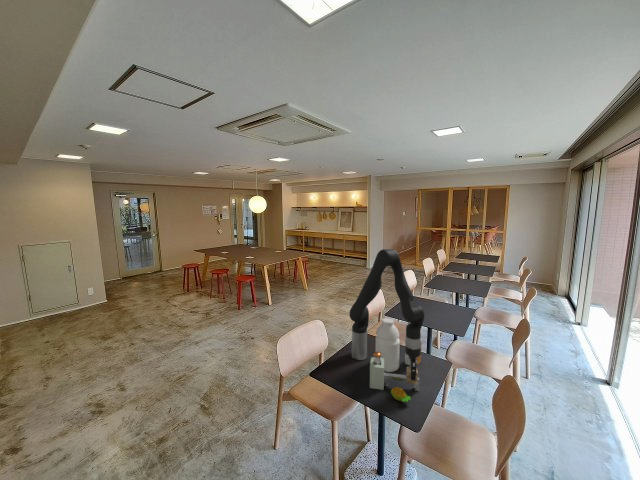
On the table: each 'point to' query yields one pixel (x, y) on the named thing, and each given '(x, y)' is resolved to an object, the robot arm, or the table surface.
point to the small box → (408, 359)
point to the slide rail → (397, 379)
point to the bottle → (388, 344)
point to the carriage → (410, 376)
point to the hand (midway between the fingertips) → (412, 374)
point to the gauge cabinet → (377, 374)
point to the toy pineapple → (400, 394)
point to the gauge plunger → (377, 357)
